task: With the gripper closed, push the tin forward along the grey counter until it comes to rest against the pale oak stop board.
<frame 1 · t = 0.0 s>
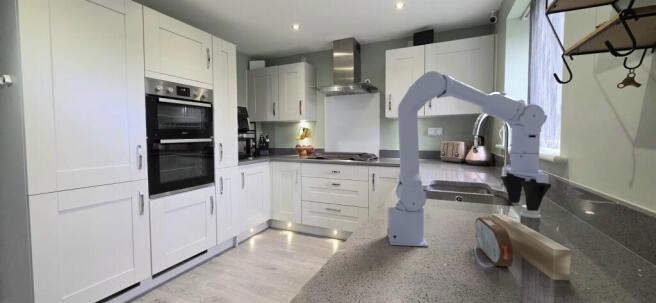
hand: (522, 206, 67), 10 cm above the table, tool pointing down, fingers open, 7 cm apart
pill bottle: (529, 236, 74), on the table
stop board: (523, 253, 63), on the table
tin: (491, 258, 61), on the table
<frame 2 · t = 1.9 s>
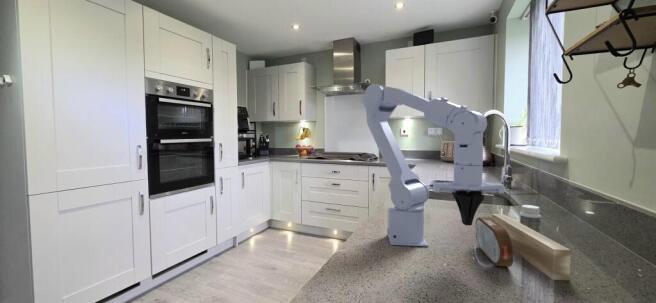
hand: (466, 223, 60), 8 cm above the table, tool pointing down, fingers closed
nothing on the table moved.
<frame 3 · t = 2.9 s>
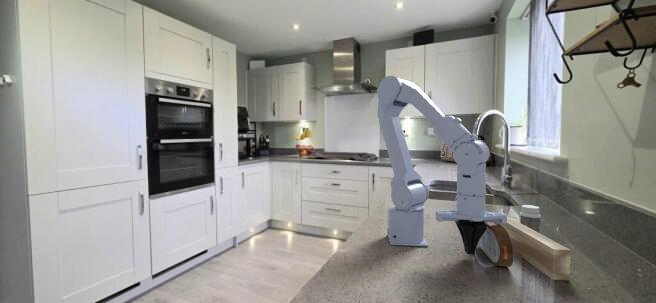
hand: (469, 252, 60), 1 cm above the table, tool pointing down, fingers closed
nothing on the table moved.
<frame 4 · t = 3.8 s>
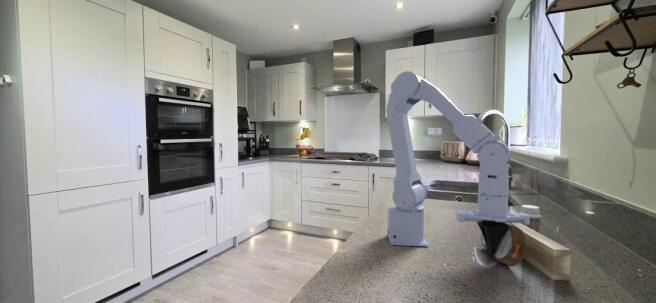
hand: (490, 253, 60), 1 cm above the table, tool pointing down, fingers closed, pressing on tin
tin: (492, 255, 61), on the table, touching gripper
everything else where it was.
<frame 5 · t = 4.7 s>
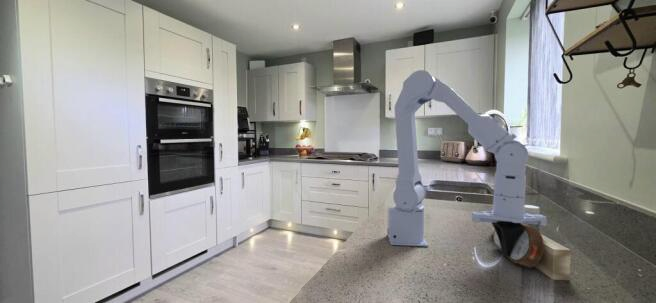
hand: (506, 254, 59), 1 cm above the table, tool pointing down, fingers closed, pressing on tin
tin: (506, 256, 61), on the table, touching gripper, stop board
everything else where it was.
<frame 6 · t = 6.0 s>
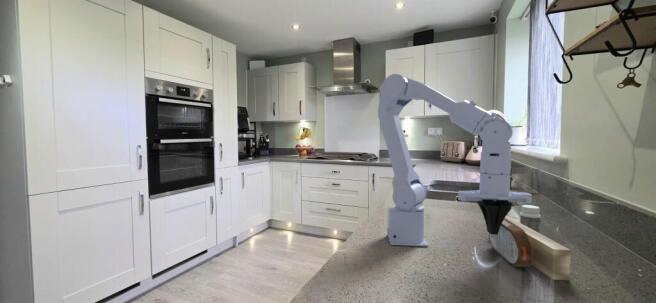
hand: (492, 233, 59), 6 cm above the table, tool pointing down, fingers closed
tin: (506, 258, 61), on the table
everything else where it was.
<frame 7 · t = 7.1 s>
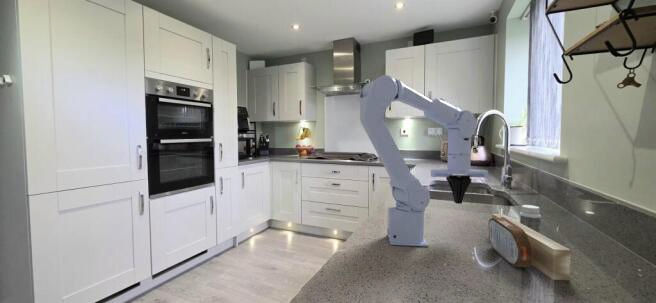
hand: (457, 202, 74), 9 cm above the table, tool pointing down, fingers closed
nothing on the table moved.
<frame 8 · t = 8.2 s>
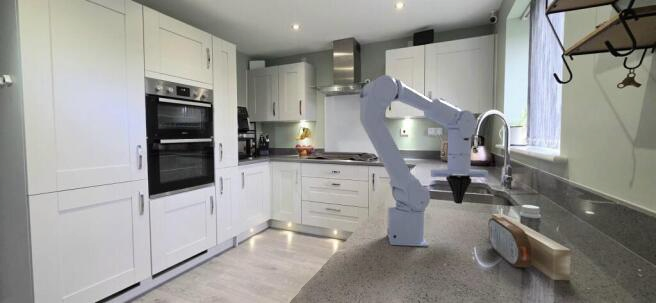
hand: (457, 202, 74), 9 cm above the table, tool pointing down, fingers closed
nothing on the table moved.
at the end: tin 1.2 cm from the target spot, on the table; tin tilted 0°; tin moved 3.3 cm from its start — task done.
